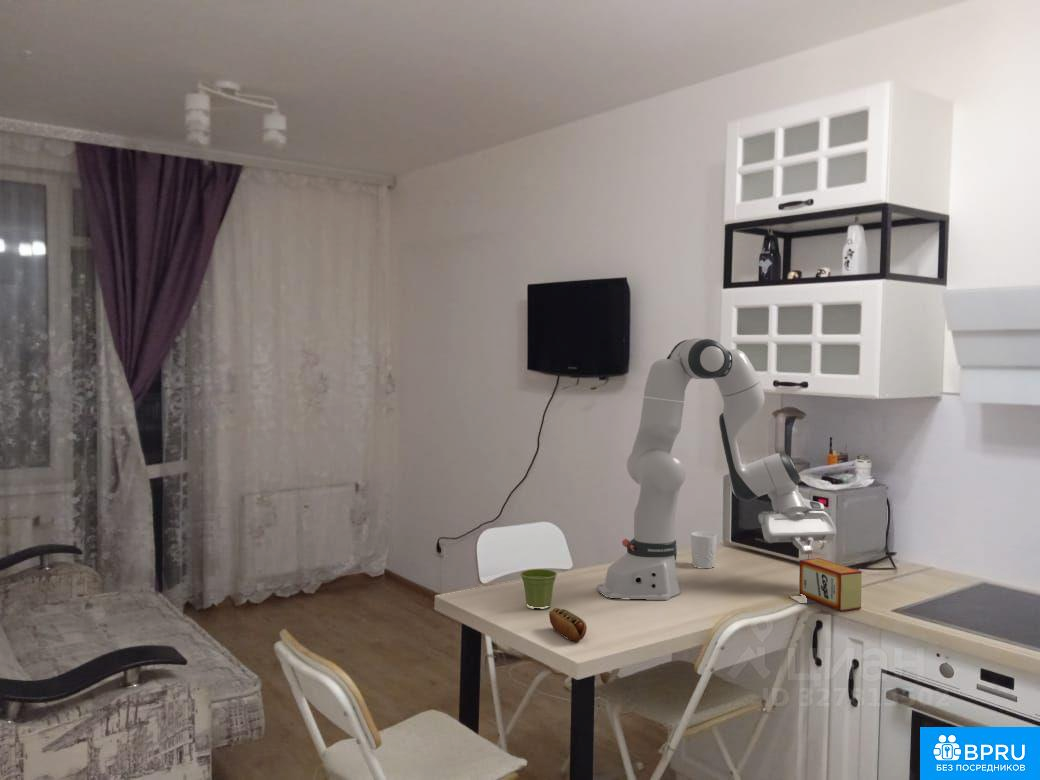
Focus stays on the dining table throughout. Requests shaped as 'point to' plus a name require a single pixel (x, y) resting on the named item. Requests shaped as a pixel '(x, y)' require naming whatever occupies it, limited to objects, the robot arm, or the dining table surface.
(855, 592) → the baking soda box
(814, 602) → the mat
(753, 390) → the robot arm
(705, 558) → the white cup
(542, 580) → the plant pot
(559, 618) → the hot dog
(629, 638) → the dining table surface
